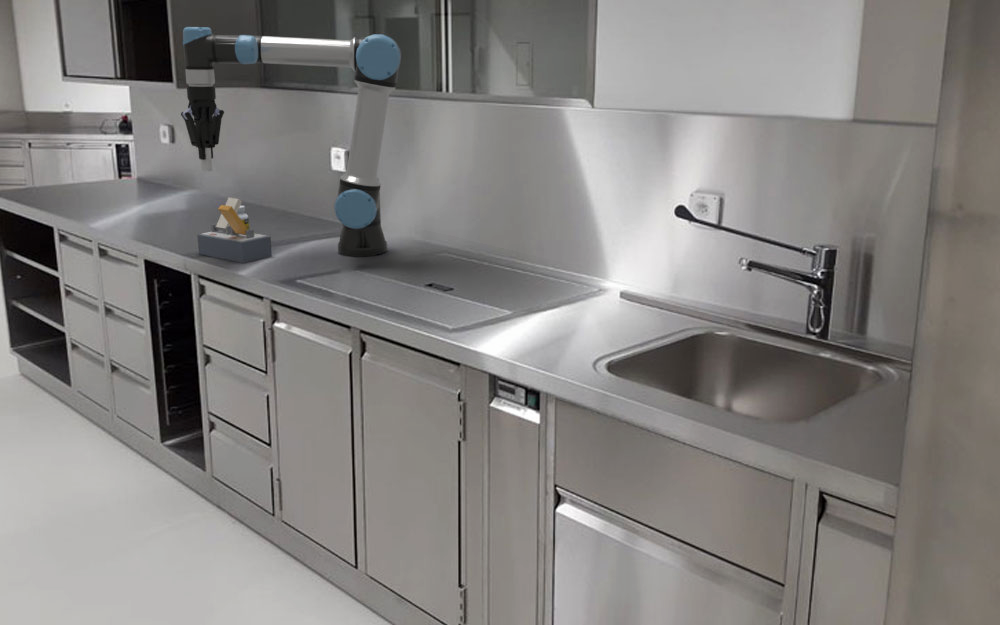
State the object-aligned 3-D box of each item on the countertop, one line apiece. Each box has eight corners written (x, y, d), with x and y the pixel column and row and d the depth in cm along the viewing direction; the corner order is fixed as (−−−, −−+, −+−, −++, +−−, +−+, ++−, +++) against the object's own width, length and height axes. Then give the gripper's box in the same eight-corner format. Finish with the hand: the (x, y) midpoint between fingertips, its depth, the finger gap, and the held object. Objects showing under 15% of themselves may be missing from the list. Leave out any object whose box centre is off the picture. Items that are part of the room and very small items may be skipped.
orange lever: (251, 233, 275) (232, 206, 268) (248, 236, 274) (229, 210, 267) (238, 231, 278) (220, 204, 271) (235, 234, 277) (216, 208, 270)
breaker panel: (272, 256, 279) (270, 227, 276) (243, 263, 270) (240, 234, 268) (228, 247, 290) (225, 220, 287) (199, 254, 281) (196, 226, 279)
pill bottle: (244, 245, 293) (241, 208, 290) (225, 244, 295) (222, 208, 291) (253, 240, 300) (251, 205, 296) (235, 239, 301) (232, 204, 297)
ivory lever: (229, 233, 280) (243, 201, 282) (225, 230, 278) (239, 199, 281) (217, 230, 283) (231, 199, 285) (213, 228, 281) (227, 197, 284)
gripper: (211, 84, 263) (217, 167, 269) (172, 85, 252) (179, 172, 259) (228, 85, 258) (234, 169, 265) (189, 86, 248) (196, 174, 255)
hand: (207, 170), depth 262 cm, fingers closed
